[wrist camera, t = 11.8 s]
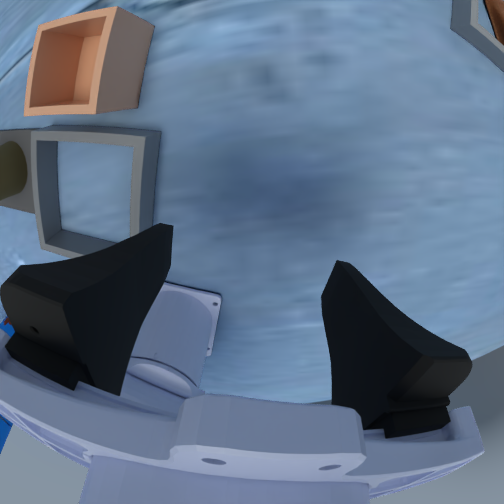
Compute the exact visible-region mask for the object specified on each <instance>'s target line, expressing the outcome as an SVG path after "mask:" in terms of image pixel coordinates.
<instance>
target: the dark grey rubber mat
mask: <svg viewBox="0 0 504 504" xmlns="http://www.w3.org/2000/svg"><path fill="white" fill-rule="evenodd" d="M34 130H37V129H14V130H0V146H1V145H3V144H4V143H6V142H8V141H14V142H15V143H17V144H18V145H19V146H20V147H21V149H22V150H23V153H24V155H25V158H26V162H27V172H28V175H27V182H26V185H25V187H24V189H23V190H22V191H21V193H18V194H16V195H13V196H10V197H8V198H6V199H3V200H1V201H0V206H4V207H8V208H13V209H17V210H21V211H25V212H29V213H33V214H35V207H34V198H33V187H32V172H31V131H34Z"/></svg>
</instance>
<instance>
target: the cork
mask: <svg viewBox="0 0 504 504" xmlns="http://www.w3.org/2000/svg"><path fill="white" fill-rule="evenodd" d="M27 175H28V172H27V162H26V158H25V155H24V153H23V150H22V149H21V147H20V146H19V145H18V144H17V143H15V142H14V141H8V142H6V143H4V144H3V145H1V146H0V201H1V200H3V199H6V198H8V197H10V196H13V195H16V194H18V193H21V191H22V190H23V189H24V187H25V185H26V182H27Z"/></svg>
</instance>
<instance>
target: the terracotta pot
mask: <svg viewBox="0 0 504 504" xmlns="http://www.w3.org/2000/svg"><path fill="white" fill-rule="evenodd" d="M154 27H155V26H154V25H152V24H150V23H149V22H147V21H145V20H143V19H141V18H139V17H138V16H136V15H134V14H132V13H130V12H128V11H126V10H124V9H122V8H120V7H118V6H117V7H110V8H104V9H98V10H93V11H88V12H84V13H79V14H75V15H71V16H67V17H64V18H60V19H57V20H53V21H50V22H47V23H44V24H41V25H39V26H38V30H37V33H36V37H35V42H34V46H33V51H32V56H31V61H30V66H29V73H28V79H27V87H26V96H25V107H24V116H35V115H54V114H99V113H105V112H112V111H119V110H126V109H135V108H138V103H139V97H140V91H141V85H142V80H143V74H144V69H145V64H146V60H147V55H148V51H149V47H150V42H151V38H152V34H153V31H154Z"/></svg>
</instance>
